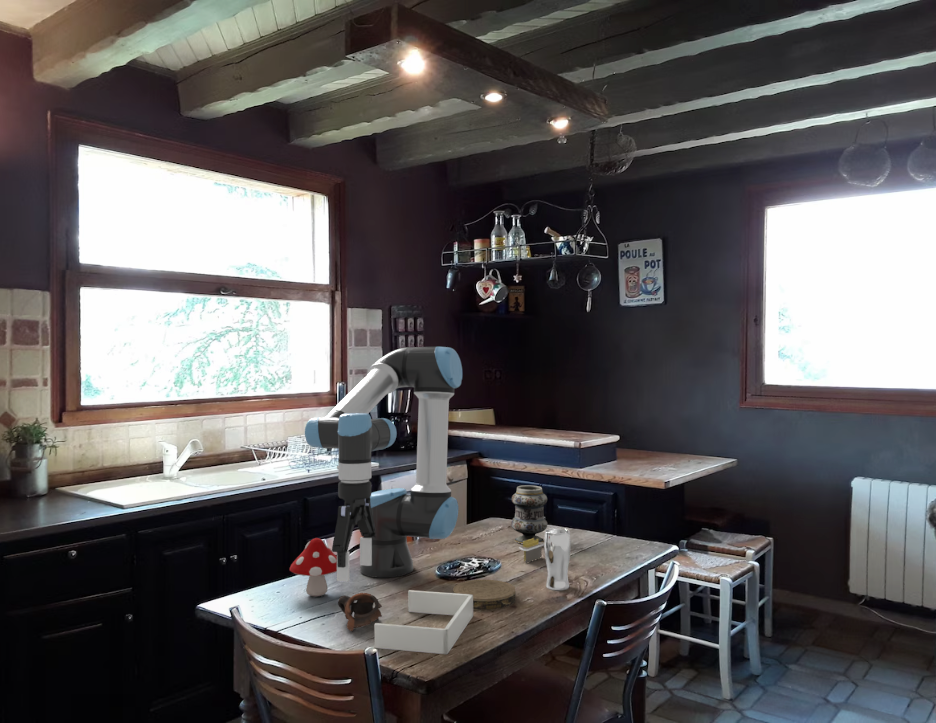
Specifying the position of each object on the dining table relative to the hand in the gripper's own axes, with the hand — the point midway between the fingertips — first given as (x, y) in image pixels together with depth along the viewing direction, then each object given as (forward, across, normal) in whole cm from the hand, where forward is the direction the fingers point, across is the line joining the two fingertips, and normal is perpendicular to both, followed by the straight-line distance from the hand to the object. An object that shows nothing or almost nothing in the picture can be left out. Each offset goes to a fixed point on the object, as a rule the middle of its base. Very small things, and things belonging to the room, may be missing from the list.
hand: (354, 573), depth 172 cm
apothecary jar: (+11, -86, +27) cm, 90 cm away
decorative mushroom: (+12, -18, -18) cm, 28 cm away
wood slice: (+12, -24, +25) cm, 37 cm away
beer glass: (+12, -38, +42) cm, 58 cm away
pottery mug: (+12, -1, +1) cm, 12 cm away
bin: (+12, 0, +17) cm, 21 cm away
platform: (+12, -63, +31) cm, 71 cm away
